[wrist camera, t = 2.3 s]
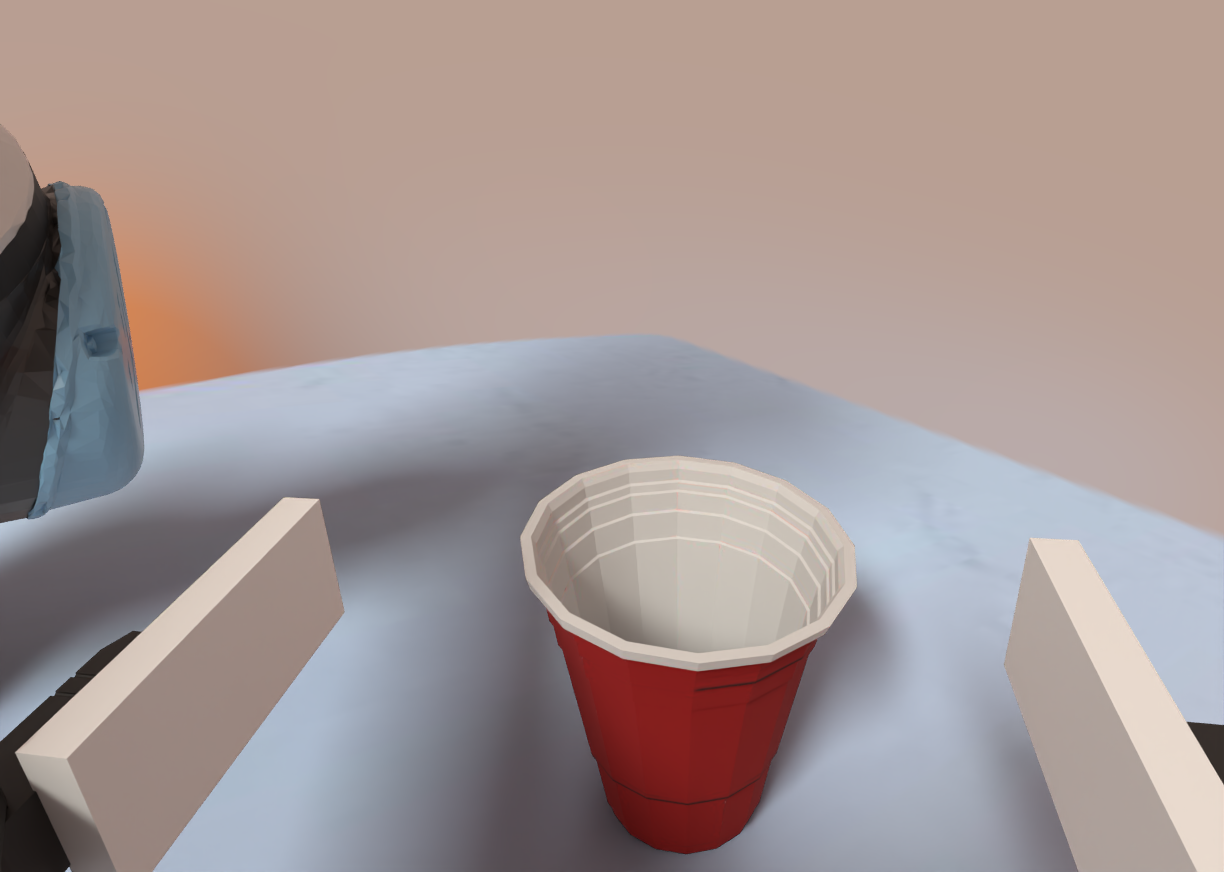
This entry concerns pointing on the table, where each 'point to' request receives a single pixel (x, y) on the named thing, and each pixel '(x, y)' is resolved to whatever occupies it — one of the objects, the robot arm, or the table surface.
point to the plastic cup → (685, 629)
